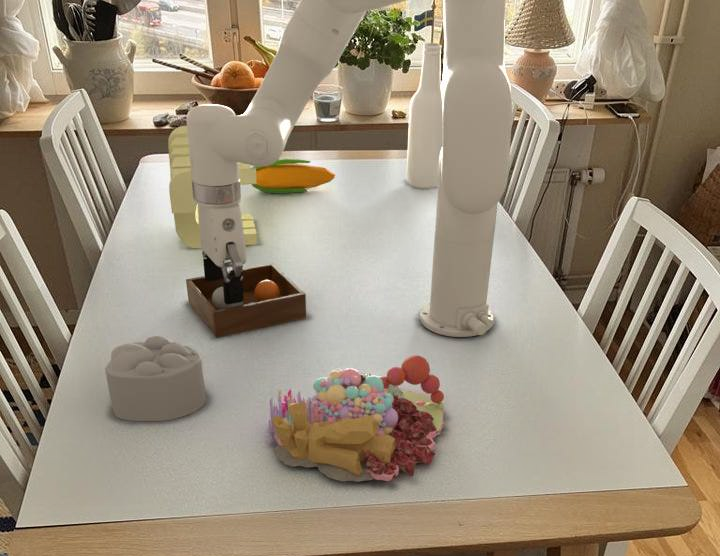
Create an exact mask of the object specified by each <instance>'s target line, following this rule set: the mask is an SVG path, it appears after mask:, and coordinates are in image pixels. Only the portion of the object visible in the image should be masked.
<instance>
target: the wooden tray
mask: <svg viewBox="0 0 720 556" xmlns="http://www.w3.org/2000/svg"><path fill="white" fill-rule="evenodd" d="M227 271H228V274H229V273H230V271H231V270H227ZM242 272H243V275H242V276H243V281H242V283H243V305H240V306H235V307H231V308H226V309H221V310H215V309H214V307H213V306H212V295H213V292H214V291H215V290H216V289H217V288H219V287H223V281H225V279H224V275H223V279H220V280H215V281H209V282H207V281H206V280H205V275H202V276H197V277H191V278H186V279H185V283H186V292H187V300H188V304H189V305H190V307H191V308H192V309H193V311H194V312H195V313H196V314H197V316H198V317H199V318H200V319H201V321H202V322H203V323H204V324H205V326H206V327H207V328H208V329H209V331H210V332H211V333H212V334H213V336H214V337H215V338H220V337H225V336H229V335H230V336H231V335H235V334H239V333H244V332H248V331H249V332H250V331H253V330H258V329H262V328H267V327H272V326H275V325H281V324H285V323H290V322H295V321H299V320H305V319H307V298H306V297H307V295H306V293H305V292H304V291H303V290H302V289H301V288H300V287H299V286H298V285H296V283H294V281H293V280H292V279H290V278H289V276H287V275H286V274H285V273H284V272H283V271H282V270H281V269H280V268H279V267H278V266H276V264H275V263H274V262H271V263H266V264H260V265H256V266H250V267H245V268H242ZM264 280H270V281H273V282H274V283H276V285H277V286H278V288H279V290H280V296H279V298H274V299H270V300H265V301H260V302H258V301H257V300H256V298H255V288H256V286H257V284H258V283H260V282H261V281H264Z"/></svg>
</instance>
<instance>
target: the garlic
mask: <svg viewBox="0 0 720 556" xmlns="http://www.w3.org/2000/svg"><path fill="white" fill-rule="evenodd" d="M240 305H243V302H239V303H234V304H228V305H226V304H225V303H224V292H223V287H219V288H217V289H216V290H215V291H214V292H213V295H212V306H213V307H214V309H215V310H221V309H226V308H231V307H235V306H240Z"/></svg>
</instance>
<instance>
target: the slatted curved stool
mask: <svg viewBox="0 0 720 556" xmlns="http://www.w3.org/2000/svg"><path fill="white" fill-rule="evenodd" d="M167 146H168V159H169V170H170V171H169V172H170V173H169V174H170V175H169V176H170V181H169V185H168V188H169V189H168V192H169V193H168V194H169V201H170V209H171V214H173V220H174V226H175V227H174V229H175V232H176V235H177V237H178V238H179V240H180V241H181V242H182V243H183V244H184V245H185V246H187V247H189V248H192V249H202V247H201V242H200V235H199V222H198V204H196V203H195V202H194V200H193V190H192V178H191V167H190V155H189V144H188V133H187V125H181V126H178V127H176V128H174V129H173V130H172V132H171V133H170V135H169V136H168V141H167ZM239 172H240V186H246V185H251V184H257V181H256V168H253V167H251V165H248V164H244V163H239ZM241 217H242V224H243V231H244V241H245V246H253V245H254V246H255V245H258V243H259V242H258V233H257V229H256V224H255V220H254V216H253V214H252V213H250V214H248V213H247V214H241Z"/></svg>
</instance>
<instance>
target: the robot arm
mask: <svg viewBox="0 0 720 556" xmlns="http://www.w3.org/2000/svg"><path fill="white" fill-rule="evenodd" d="M405 1H407V0H299V2H298V3H297V5H296V7H295V9H294V11H293V13H292V15H291V17H290V19H289V20H288V22H287V24H286V26H285V28H284V30H283V32H282V34H281V36H280V39H279V43H278V48H277V50H276V53H275V56H274V58H273V60H272V61H271V64H270V66H269V68H268V70H267V72H266V73H265V76H264V78H263V79H262V81H261V83H260V85H259V87H258V89H257V91H256V93H255V94H254V96H253V97H252V100H251V102H250V103H249V105H248V107H247V109H246V110H245V111H244V113H243V114H240V115H239V114H237V115H236V113H235V111H234V110H233V109H232V108H230V107H228V106H225V105H221V104H214V103H213V104H211V103H210V104H200V105H197V106H194V107H192V108H190V109H189V110H188V112H187V114H186V126H187V133H188V144H189V155H190V167H191V178H192V190H193V200H194V202H195V203H196V204H197V207H198V222H199V235H200V242H201V247H202V248H201V250H202V251H201V252H202V253H201V254H202V257H203V259H202V263H203V274H204V275H203V276H205V280H206V281H207V282H209V281H215V280H220V279H223V275H224V279H225V281H223V292H224V303H225V304H226V305H228V304H234V303H239V302H243V283H242V281H243V276H242V275H243V272H242V269H244V268H243V267H244V265H245V264H246V262H247V251H246V245H245V241H244V231H243V224H242V217H241V215H242V212H241V207H240V204H239V203H240V202H241V201H242V190H241V185H240V172H239V163H244V164H248V165H250V166H252V167H254V166H268V165H271V164H273V163H275V162H276V161H277V160H278V159H281V157H282V155H283V154H284V151H285V148H286V145H287V143H288V139H289V137H290V135H291V133H292V131H293V130H294V128H295V126H296V124H297V122H298V120H299V118H300V117H301V115H302V113H303V111H304V109H305V107H306V106H307V104H308V103H309V101H310V100H311V97H312V96H313V94H314V93H315V91H316V90H317V88H318V87H319V85H320V84H321V83H322V82H323V80H325V79H326V78H327V77H328V76H330V75H331V73H332V71H333V70H334V68H335V67H336V66H337V64H338V62H339V60H340V59H341V56H342V55H343V53H344V51H345V49H346V48H347V46H348V44H349V43H350V41H351V39H352V37H353V36H354V34H355V32H356V31H357V28H358V27H359V25H360V24H361V22H362V20H363V19H364V16H365V15H366V13H367V12H369V11H373V10H377V9H381V8H386V7H389V6H392V5H395V4H399V3H403V2H405ZM442 2H443V6H442V7H443V41H444V42H443V65H442V66H443V68H442V69H443V70H442V78H441V79H442V80H441V83H440V86H441V98H442V112H443V137H442V148H441V151H440V155H439V162H438V186H437V190H436V191H437V192H436V193H437V195H436V211H435V226H434V227H435V229H434V240H433V254H432V270H431V285H430V301H429V303H427V304H426V305H424V306H423V307H422V309H421V310H420V313H419V320H420V322H421V324H422V326H423V327H424V328H426V329H427V330H429V331H431V332H433V333H435V334H438V335H440V336H444V337H445V336H446V337H452V338H469V337H476V336H483V335H484V334H485V333H486V332H488V331H489V330H491V328H492V327H494V325H495V321H494V320H495V316H494V313H493V312H492V310H491V309H490V308H489V306H490V305H489V304H488V294H489V293H488V292H489V283H490V276H491V267H492V256H493V249H494V248H493V247H494V238H495V231H496V224H497V213H498V203H499V202H500V201H501V199H502V198H503V196H504V193H505V191H506V190H507V189H506V188H507V185H508V181H509V172H510V171H509V170H510V169H509V168H510V156H511V141H512V140H511V138H512V124H513V123H512V122H513V119H512V118H513V117H512V116H513V96H512V95H513V94H512V88H511V83H510V81H509V78H508V76H507V73H506V68H505V41H506V0H442ZM226 261H227V262H226ZM230 268H232V269H230ZM228 269H230V270H228ZM228 271H230V273H229V274H228Z"/></svg>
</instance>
